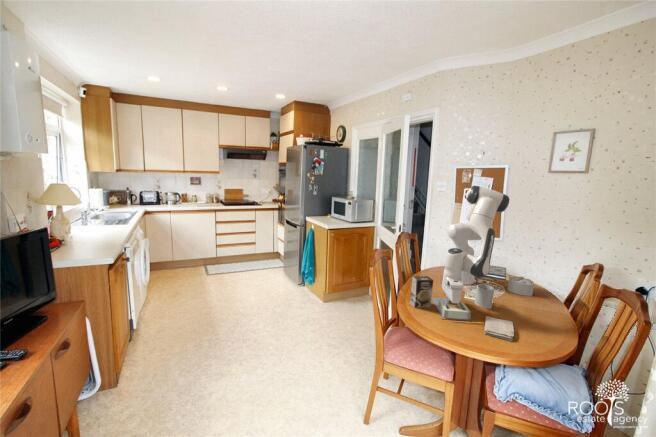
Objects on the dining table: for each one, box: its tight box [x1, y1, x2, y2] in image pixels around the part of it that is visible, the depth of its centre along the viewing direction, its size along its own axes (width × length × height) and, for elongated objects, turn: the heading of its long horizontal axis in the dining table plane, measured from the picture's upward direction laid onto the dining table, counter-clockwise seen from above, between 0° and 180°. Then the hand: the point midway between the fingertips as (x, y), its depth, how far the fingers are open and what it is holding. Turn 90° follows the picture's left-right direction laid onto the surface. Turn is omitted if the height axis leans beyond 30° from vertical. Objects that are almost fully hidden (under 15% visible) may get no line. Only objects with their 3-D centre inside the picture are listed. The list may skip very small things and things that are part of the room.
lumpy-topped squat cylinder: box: [507, 276, 535, 297], centre depth 192 cm, size 10×13×9 cm
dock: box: [431, 296, 472, 323], centre depth 164 cm, size 24×14×5 cm, turn 175°
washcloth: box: [483, 316, 515, 342], centre depth 145 cm, size 12×18×3 cm, turn 153°
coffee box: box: [409, 275, 434, 309], centre depth 165 cm, size 9×6×16 cm
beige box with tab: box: [446, 301, 462, 310], centre depth 157 cm, size 7×6×6 cm
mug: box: [474, 283, 495, 310], centre depth 171 cm, size 12×8×11 cm
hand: (448, 303), depth 166 cm, fingers closed
